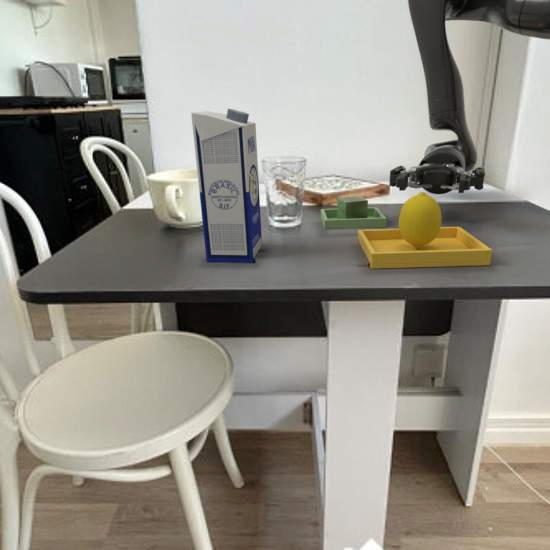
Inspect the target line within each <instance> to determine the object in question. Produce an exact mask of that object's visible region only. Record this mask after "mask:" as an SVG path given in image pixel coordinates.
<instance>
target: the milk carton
mask: <svg viewBox="0 0 550 550" xmlns="http://www.w3.org/2000/svg"><path fill="white" fill-rule="evenodd" d="M190 114H191V115H190V116H191V125H192V133H193V143H194V153H195V162H196V163H195V164H196V173H197V181H198V192H199V201H200V210H201V220H202V228H203V229H202V231H203V240H204V250H205V259H206V262H207V263H254V261H255V257H256V255H257V254H258V251H259V250H260V248H261V247H262V245H263V237H262V220H261V218H262V217H261V200H260V181H259V180H260V179H259V164H258V161H259V160H258V146H257V145H258V144H257V126H256V122H253V121H250V120H249V116H250V114H249V113H248V112H245V111H241V110H237V109H233V108H227V111H226V113H223V112H222V113H221V112H214V111H208V110H205V111H203V110H202V111H191V112H190Z"/></svg>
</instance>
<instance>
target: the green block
mask: <svg viewBox="0 0 550 550" xmlns="http://www.w3.org/2000/svg"><path fill="white" fill-rule="evenodd" d="M368 207H369V200H368V199H366V198H364V197H361V196H359V195H356V196H354V195H353V196H347V197H346V196H345V197H344V196H343V197H337V198H336V209H337V219H354V218H367V213H368Z"/></svg>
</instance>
